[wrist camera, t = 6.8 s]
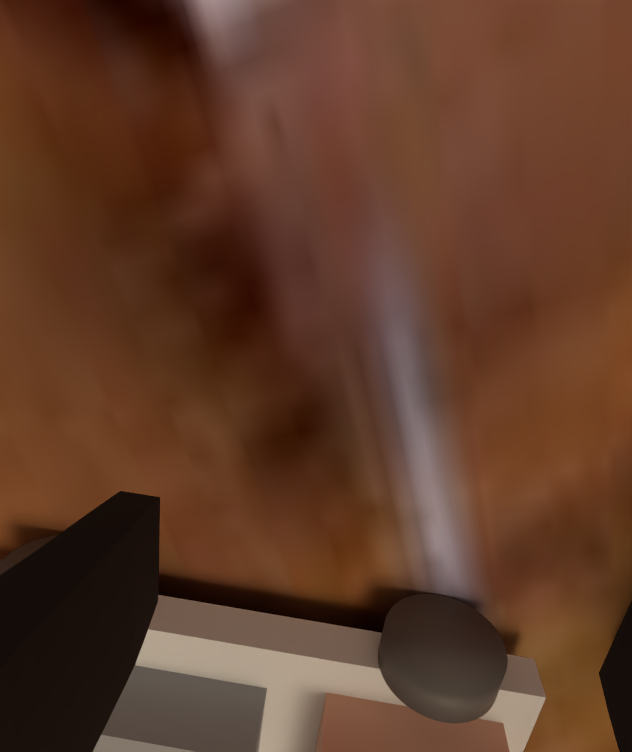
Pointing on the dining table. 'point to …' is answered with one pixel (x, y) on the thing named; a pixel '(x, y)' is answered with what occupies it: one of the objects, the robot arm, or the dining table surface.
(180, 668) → the chassis
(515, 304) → the dining table surface
